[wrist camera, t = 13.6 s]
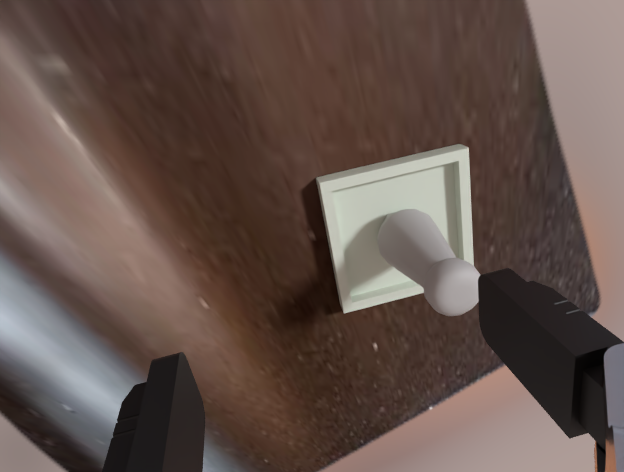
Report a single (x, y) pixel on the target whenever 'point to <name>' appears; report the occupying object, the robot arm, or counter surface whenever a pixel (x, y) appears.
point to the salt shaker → (428, 261)
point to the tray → (385, 200)
